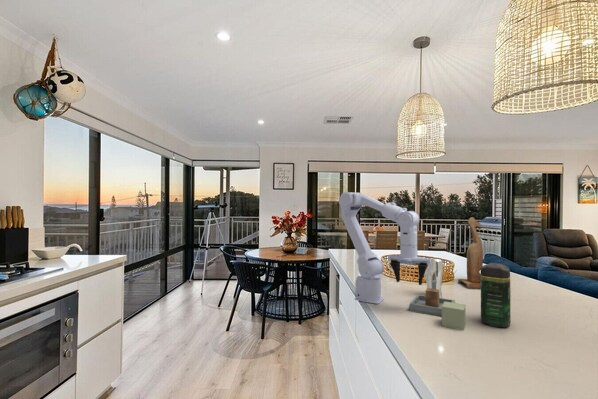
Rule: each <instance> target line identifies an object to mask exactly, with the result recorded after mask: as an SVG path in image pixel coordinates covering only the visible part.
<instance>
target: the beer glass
mask: <svg viewBox="0 0 598 399" xmlns="http://www.w3.org/2000/svg"><path fill="white" fill-rule="evenodd" d="M430 259H431V265H428V267H427V269H426V271H425V273H424V277H425V282H426V289H427V288H432V289H439V298H443V292H442V284H443V279H444V263H443V260H442V259H440V258H430Z"/></svg>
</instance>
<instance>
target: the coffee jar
mask: <svg viewBox="0 0 598 399" xmlns="http://www.w3.org/2000/svg"><path fill="white" fill-rule="evenodd" d="M480 274H481V288H480V321H481V322H482V323H483V324H487V325H489V326H490V327H496V328H498V327H500V328H507V327H509V326H510V324H511V304H512V303H511V302H512V301H511V297H512V296H511V270H510V268H509V266H506V265H505V264H503V263H499V262H498V263H497V262H489V263H487V264H483V266H482V267H481V270H480Z"/></svg>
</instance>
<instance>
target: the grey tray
mask: <svg viewBox="0 0 598 399" xmlns="http://www.w3.org/2000/svg"><path fill="white" fill-rule="evenodd" d="M444 301H445V302H452V303H456V300H455V299H450V298H444V297H442V298H439V308H437V307H431V306H425V295H424V294H423V295H422V294H417V295H416V296H414V298H413V299H412V300H411V302H410V303H409V311H410V312H414V313H420V314H426V315H432V316H437V317H442V305H443V303H444Z"/></svg>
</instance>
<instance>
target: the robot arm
mask: <svg viewBox="0 0 598 399" xmlns="http://www.w3.org/2000/svg"><path fill="white" fill-rule="evenodd" d="M338 204H339V206H340V216H341V219H342V222H343V225H344V226H345V228H346V230H347V232H348V235H349V238H350V239H351V242H352V243H353V246H354V249H355V251H356V253H357V255H358V257H357V260H356V262H357V267H358V268H357V270H358V273H359V275H357V277H356V278H355V282H354V283H355V285H354V286H355V293H354V294H355V298H354V300H355V301H358V302H365V303H370V304H376V305H379V304H380V303H382V301H383V300H385V297H383V296H382V277H381V276H382V274H383V273H384V271H385V266H384V265H385V264H384V263H383V261H382V260H381V259H380V258H379V257H378V255H377V254H376V252H375V253H374V251H372V249H371V247H370V245H369V243H368V240H367V239H366V236H365V234H364V231H363V229H362V227H361V225H360V223H359V221H358V219H357V214H358V212H359V211H360V209H361V208H362V207H363V206H366V207H369V208H371V209H374V210H376V211H379V212H380V213H381V215H382V217H384V218H386V219H389V220H391V221H392V222H394V223H397V224H398V226H399V227H400V228H399V229H400V232H399V233H400V234H399V238H400V246H399V249H400V255H393V254H389V255H388V256H387V262H389V263H390V264H389V265H390V266H391V268H392V270H393V273H394V276H395V280H396V283H399V282H400V281H401V275H400V274H401V263H410V264H418V266H417V267H418V270H417V271H418V285H419V286H421V285H423V280H424V277H425V271H426V269H427V267H428V265H431V259H432V258H428V257H421V256H418V225H419V223H420V216H419V214H418V213H417V212H415V210H408V208H406V207H401V206H398V205H397V204H396V203H395V202H387V203H383V202H382V201H379V200H377V199H376V198H373V197H372V196H369V195H367V194H365V193H361V192H359V191H358V192H349V191H344V192H342V194H341V195H340V198H339V200H338Z"/></svg>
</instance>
